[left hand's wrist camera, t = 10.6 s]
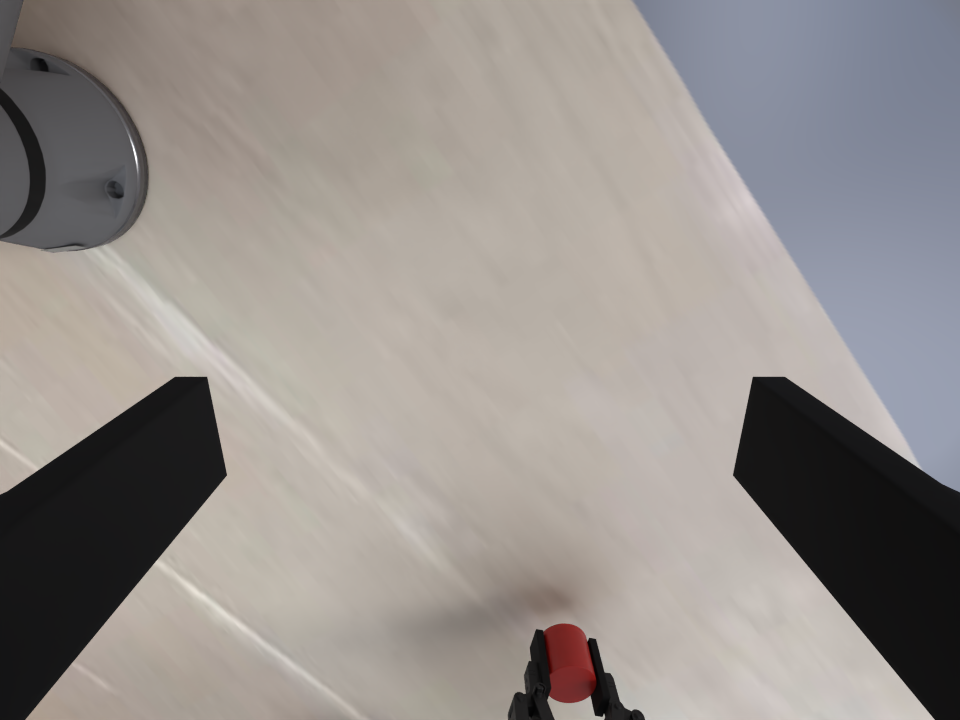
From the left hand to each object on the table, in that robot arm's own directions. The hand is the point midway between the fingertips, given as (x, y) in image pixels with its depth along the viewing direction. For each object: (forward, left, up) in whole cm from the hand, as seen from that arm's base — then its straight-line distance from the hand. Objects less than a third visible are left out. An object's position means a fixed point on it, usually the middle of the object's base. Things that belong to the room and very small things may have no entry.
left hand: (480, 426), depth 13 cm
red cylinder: (+42, -7, -30) cm, 52 cm away
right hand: (+42, -7, -29) cm, 52 cm away
